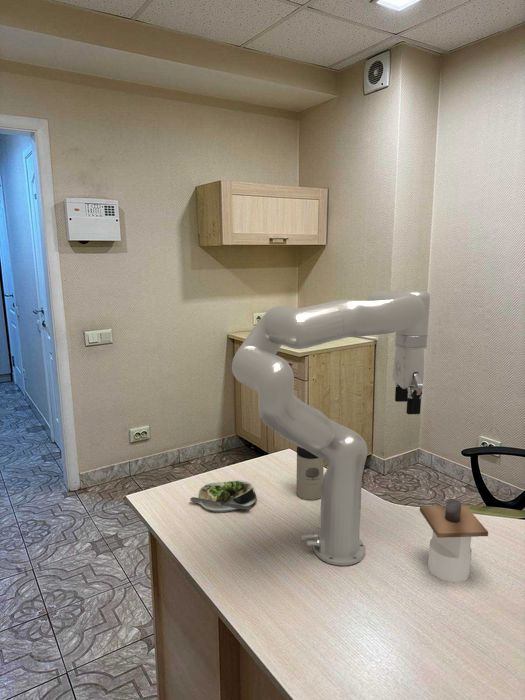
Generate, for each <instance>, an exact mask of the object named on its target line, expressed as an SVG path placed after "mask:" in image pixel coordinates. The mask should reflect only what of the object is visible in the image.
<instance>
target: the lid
mask: <svg viewBox="0 0 525 700" xmlns="http://www.w3.org/2000/svg"><path fill="white" fill-rule="evenodd" d="M445 503H446V504H445V505H444V506H443V505H442V506H441V505H440V506H439V505H437V506H419V512H420V513H421V515H422V516H423V518H424V520H425V521H426V522H427V524H428V525H429V527H430V529H431V530H432V532H433V531H434V533H435V534H436V536H437V537H438V538H444V537H471V538H473V537H488V536H489V531H488V529H486V527H484V525H483V524H482V523H481V522H480V520H479V519H478V518H477V517H476V516H475V514H474V513H473V512H472V511H471V510H470V508H469V507H468V506H467V505H462V504H463V503H462V502H461V501H460V500H458V499H454V498H449V499H446V502H445Z"/></svg>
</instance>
